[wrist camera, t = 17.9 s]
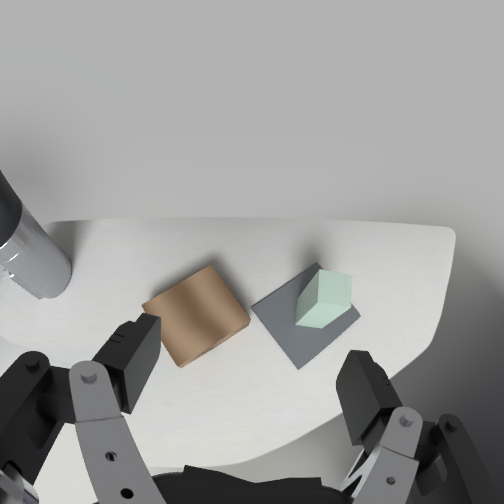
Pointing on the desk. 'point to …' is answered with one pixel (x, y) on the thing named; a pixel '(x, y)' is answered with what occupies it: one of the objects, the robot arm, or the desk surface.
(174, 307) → the walnut block
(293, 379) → the desk surface
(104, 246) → the desk surface
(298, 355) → the charcoal mat
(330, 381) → the desk surface
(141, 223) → the desk surface
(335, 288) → the sage block
